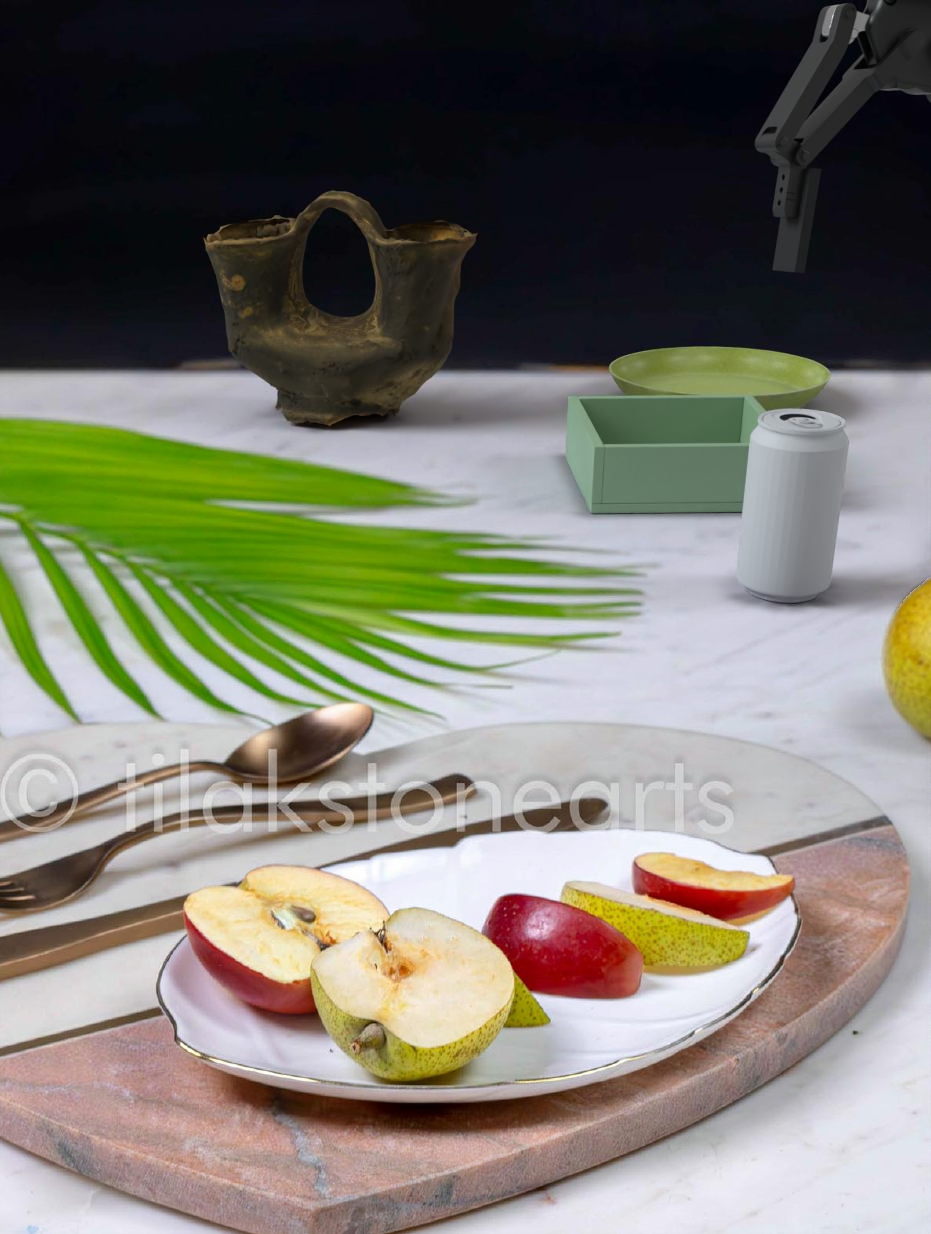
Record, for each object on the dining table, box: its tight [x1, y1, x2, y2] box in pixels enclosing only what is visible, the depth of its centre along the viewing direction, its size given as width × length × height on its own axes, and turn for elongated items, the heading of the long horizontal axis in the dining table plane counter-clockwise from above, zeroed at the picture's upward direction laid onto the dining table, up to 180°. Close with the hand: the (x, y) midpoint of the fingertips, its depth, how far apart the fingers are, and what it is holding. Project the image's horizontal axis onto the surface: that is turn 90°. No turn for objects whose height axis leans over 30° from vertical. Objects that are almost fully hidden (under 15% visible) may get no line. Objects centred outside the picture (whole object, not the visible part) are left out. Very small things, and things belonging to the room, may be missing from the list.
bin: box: [564, 395, 766, 514], centre depth 138 cm, size 16×16×5 cm
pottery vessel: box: [203, 190, 478, 427], centre depth 154 cm, size 25×11×20 cm, turn 76°
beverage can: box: [735, 408, 850, 604], centre depth 114 cm, size 6×6×12 cm
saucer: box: [608, 346, 832, 411], centre depth 162 cm, size 21×21×3 cm
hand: (873, 280), depth 116 cm, fingers open, 13 cm apart
